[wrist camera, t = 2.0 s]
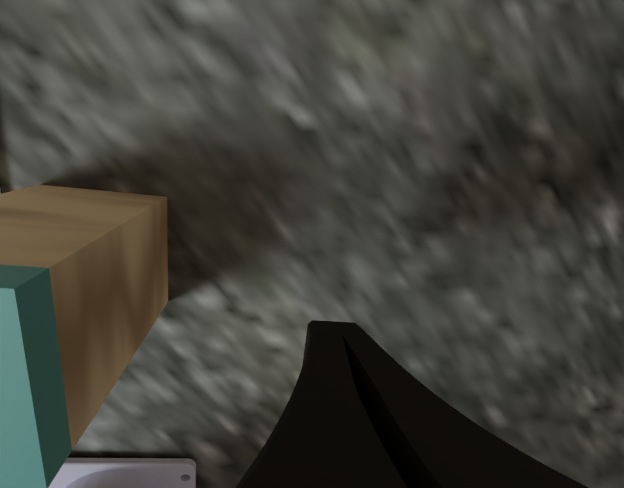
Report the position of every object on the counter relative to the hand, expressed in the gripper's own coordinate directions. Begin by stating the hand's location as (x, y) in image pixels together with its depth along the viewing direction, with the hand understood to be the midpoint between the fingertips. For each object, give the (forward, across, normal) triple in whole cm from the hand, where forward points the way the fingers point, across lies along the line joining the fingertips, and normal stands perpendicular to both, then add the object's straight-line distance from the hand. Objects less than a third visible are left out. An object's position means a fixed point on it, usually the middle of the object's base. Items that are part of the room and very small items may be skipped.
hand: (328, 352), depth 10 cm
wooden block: (+7, +9, 0) cm, 11 cm away
